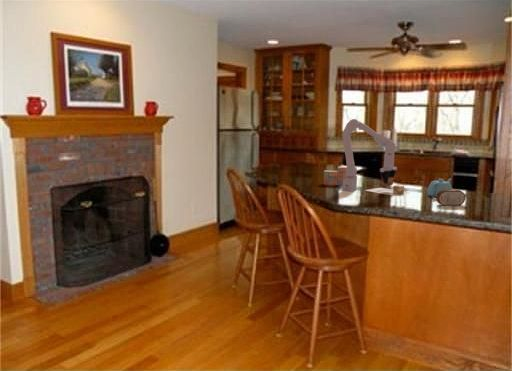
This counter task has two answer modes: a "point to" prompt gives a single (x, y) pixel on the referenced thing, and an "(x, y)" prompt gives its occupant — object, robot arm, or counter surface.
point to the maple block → (398, 189)
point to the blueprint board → (385, 191)
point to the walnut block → (390, 181)
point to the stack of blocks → (335, 176)
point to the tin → (450, 197)
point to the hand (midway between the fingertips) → (387, 182)
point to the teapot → (438, 187)
